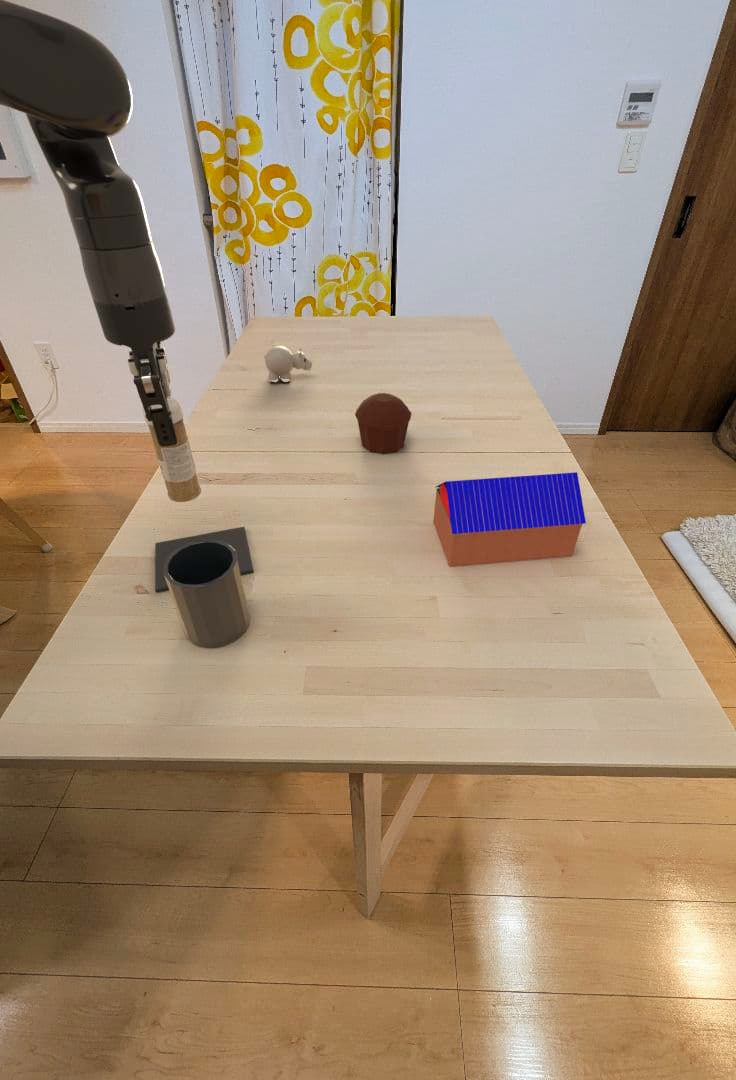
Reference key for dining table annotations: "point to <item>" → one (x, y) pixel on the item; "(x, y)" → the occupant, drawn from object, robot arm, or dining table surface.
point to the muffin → (383, 423)
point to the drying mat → (230, 536)
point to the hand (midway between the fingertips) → (168, 434)
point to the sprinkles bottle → (176, 458)
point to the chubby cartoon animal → (285, 362)
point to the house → (509, 518)
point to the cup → (208, 592)
